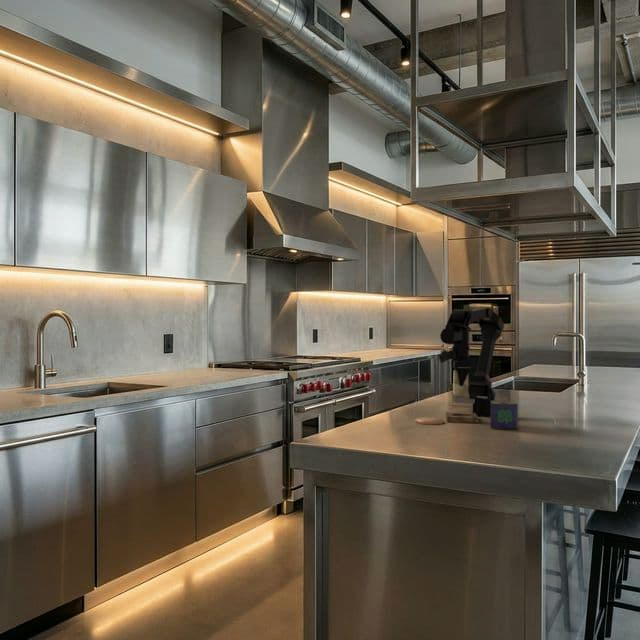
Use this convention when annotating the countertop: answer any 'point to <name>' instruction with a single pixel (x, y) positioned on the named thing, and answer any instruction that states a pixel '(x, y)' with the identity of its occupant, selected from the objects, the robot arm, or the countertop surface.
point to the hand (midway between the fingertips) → (460, 385)
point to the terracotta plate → (429, 421)
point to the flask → (504, 415)
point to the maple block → (459, 389)
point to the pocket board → (461, 417)
